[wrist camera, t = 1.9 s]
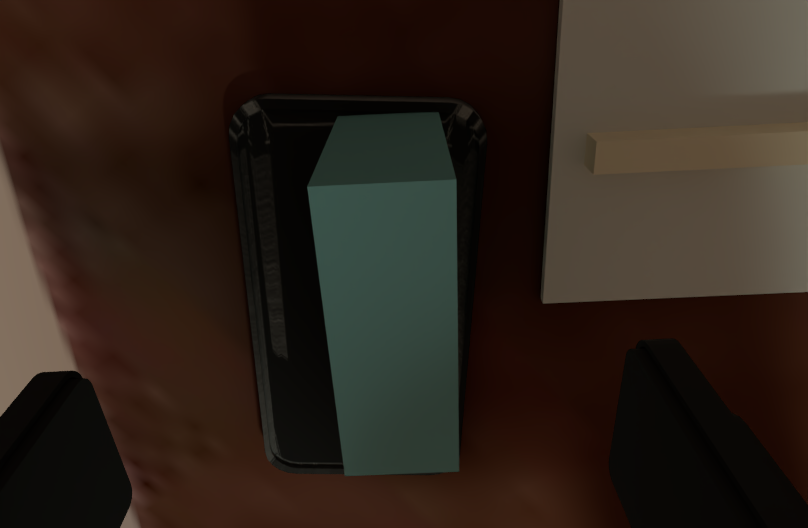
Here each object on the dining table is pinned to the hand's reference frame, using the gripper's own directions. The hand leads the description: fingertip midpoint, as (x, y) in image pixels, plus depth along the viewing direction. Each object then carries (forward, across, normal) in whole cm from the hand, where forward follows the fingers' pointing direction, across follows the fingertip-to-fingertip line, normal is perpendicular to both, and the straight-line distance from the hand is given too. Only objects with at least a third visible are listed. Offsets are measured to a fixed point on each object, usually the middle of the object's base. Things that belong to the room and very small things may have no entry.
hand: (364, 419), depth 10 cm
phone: (+11, +1, +4) cm, 11 cm away
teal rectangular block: (+10, -1, +1) cm, 10 cm away
